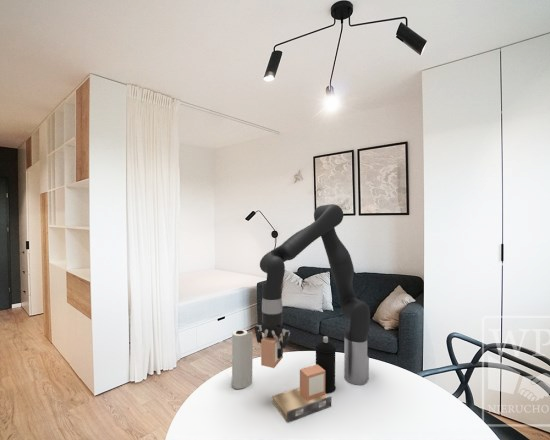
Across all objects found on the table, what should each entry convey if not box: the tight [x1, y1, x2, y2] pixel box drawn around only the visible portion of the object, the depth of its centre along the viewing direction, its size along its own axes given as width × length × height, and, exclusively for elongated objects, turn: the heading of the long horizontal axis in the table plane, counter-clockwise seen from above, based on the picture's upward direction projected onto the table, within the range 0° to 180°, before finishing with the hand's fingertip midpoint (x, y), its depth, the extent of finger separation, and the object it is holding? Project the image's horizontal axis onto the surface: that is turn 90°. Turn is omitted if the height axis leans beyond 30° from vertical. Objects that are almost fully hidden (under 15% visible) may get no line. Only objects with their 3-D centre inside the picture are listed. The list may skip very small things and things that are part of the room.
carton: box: [260, 333, 284, 369], centre depth 100 cm, size 8×5×9 cm, turn 156°
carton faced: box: [299, 364, 326, 401], centre depth 102 cm, size 8×5×9 cm, turn 117°
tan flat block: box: [271, 387, 332, 423], centre depth 99 cm, size 18×12×3 cm, turn 117°
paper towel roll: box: [231, 329, 254, 390], centre depth 110 cm, size 7×6×21 cm
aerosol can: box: [315, 335, 337, 394], centre depth 109 cm, size 8×8×20 cm
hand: (272, 355), depth 100 cm, fingers closed on carton, 5 cm apart
